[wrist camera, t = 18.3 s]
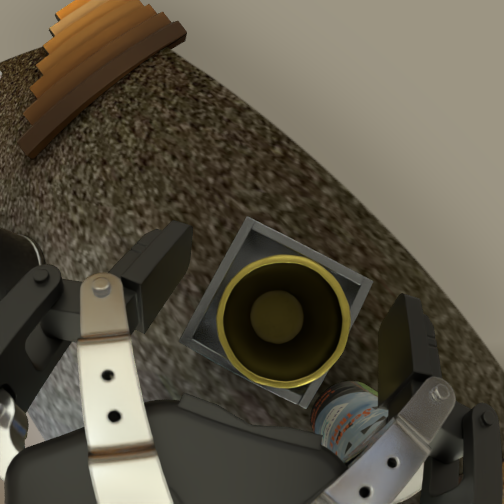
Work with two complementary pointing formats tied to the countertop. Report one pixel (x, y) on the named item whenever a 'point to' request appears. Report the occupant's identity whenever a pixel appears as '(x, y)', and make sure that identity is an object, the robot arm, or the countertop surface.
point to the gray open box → (237, 257)
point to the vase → (283, 321)
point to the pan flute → (91, 60)
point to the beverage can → (353, 423)
